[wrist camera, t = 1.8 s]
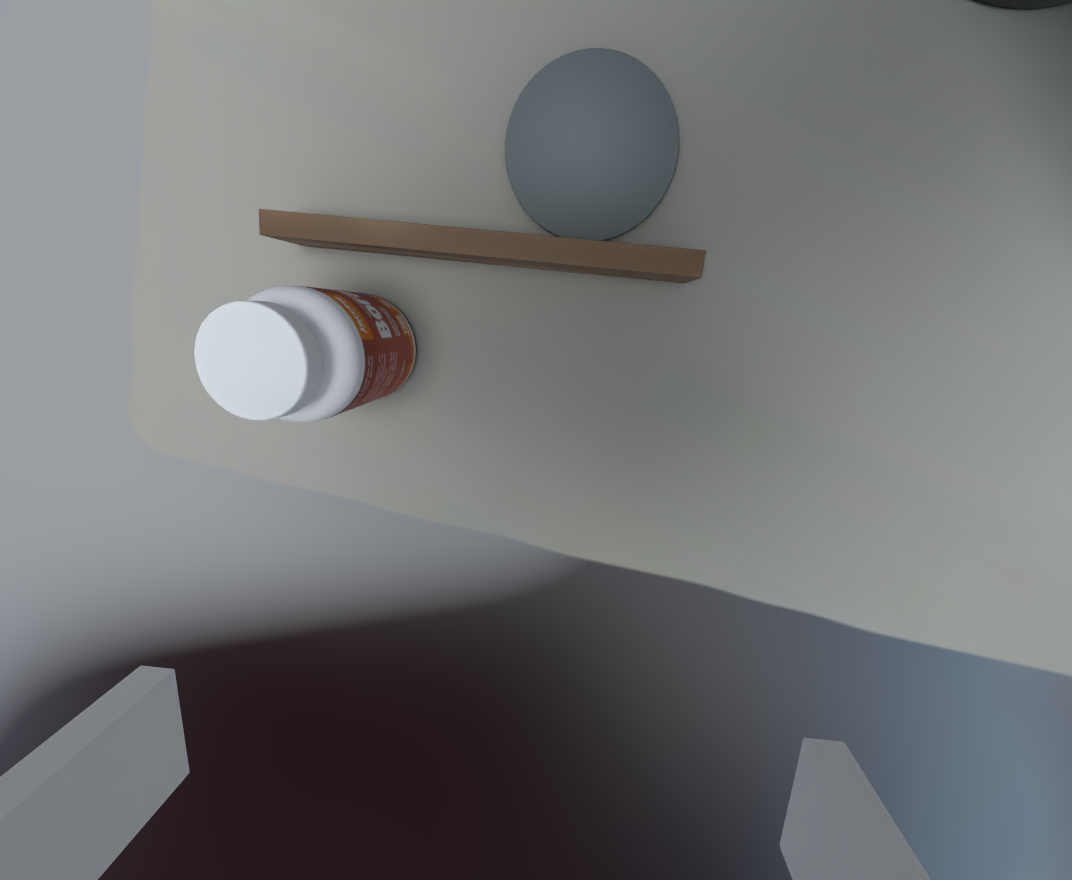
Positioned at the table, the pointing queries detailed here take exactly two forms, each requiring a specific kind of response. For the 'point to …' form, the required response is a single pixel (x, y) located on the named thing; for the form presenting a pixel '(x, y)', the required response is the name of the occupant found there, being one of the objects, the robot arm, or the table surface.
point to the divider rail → (484, 246)
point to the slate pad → (592, 144)
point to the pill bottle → (303, 353)
